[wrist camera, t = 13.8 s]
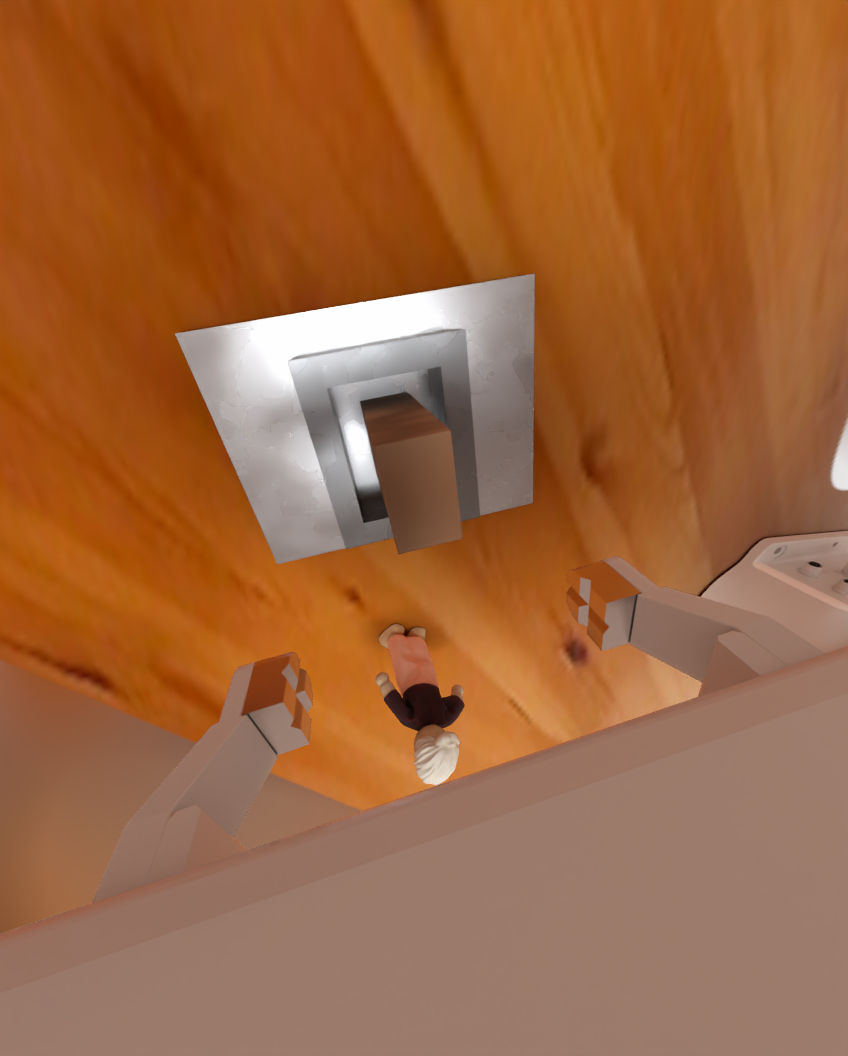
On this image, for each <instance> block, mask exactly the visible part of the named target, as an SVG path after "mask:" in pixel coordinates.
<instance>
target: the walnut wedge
mask: <svg viewBox="0 0 848 1056" xmlns="http://www.w3.org/2000/svg"><path fill="white" fill-rule="evenodd" d="M360 404H361V409H362V413H363V417H364V422H365V426H366V430H367V435H368V439H369V443H370V448H371V452H372V456H373V460H374V465H375V469H376V473H377V477H378V481H379V485H380V488H381V492H382V496H383V499H384V503H385V506H386V510H387V514H388V517H389V521H390V525H391V528H392V532H393V535H394V539H395V543H396V546H397V550H398V554H402V553H406V552H410V551H414V550H418V549H422V548H426V547H430V546H434V545H439V544H443V543H447V542H451V541H455V540H459V539H463V536H462V527H461V519H460V510H459V501H458V492H457V483H456V474H455V465H454V456H453V447H452V438H451V430H450V429H449V428H447V427H446V426H445V425H444V424H443V423H442V422H441V421H440V420H438V419H437V418H436V417H435V416H434V415H433V414H432V413H430V412H429V411H428V410H427V409H426V408H425V407H424V406H423V405H421V404H420V403H419V402H418V401H417V400H416V399H415V398H414V397H412V396H411V395H410V394H409V393H408V392H403V393H398V394H393V395H388V396H383V397H378V398H373V399H368V400H363V401H360Z"/></svg>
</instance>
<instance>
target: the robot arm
mask: <svg viewBox="0 0 848 1056" xmlns="http://www.w3.org/2000/svg"><path fill="white" fill-rule="evenodd" d="M567 582H568V583H569V584H570V585H571V587H570V588H569V590H568V591H567V604H568V607H569V610H570V612H571V614H572V615H573V617H574V618H575V619H576V621H577V622H578V623H580V624H582V625H585V626H587V627H588V628H587V634H588V635H589V636H590V638H591V639H592V640H593V641H594V642H595V644H596V645H597V646H598V647H599V648H600V650H601V651H603V650H607V649H610V648H614V647H617V646H621V645H624V644H628V643H630V645H632V646H634V647H636V648H638V649H639V650H641V651H643V652H645V653H647V654H649V655H651V656H653V657H655V658H657V659H659V660H660V661H662V662H664V663H666V664H668V665H670V666H672V667H674V668H676V669H678V670H680V671H682V672H683V673H685V674H687V675H689V676H691V677H693V678H695V679H697V680H699V681H701V682H702V685H701V688H700V691H699V694H698V697H697V698H694V699H691V700H688V701H685V702H682V703H679V704H676V705H673V706H670V707H667V708H664V709H661V710H658V711H655V712H652V713H649V714H647V715H644V716H641V717H638V718H635V719H632V720H629V721H626V722H623V723H620V724H617V725H614V726H611V727H608V728H605V729H602V730H599V731H597V732H594V733H591V734H588V735H585V736H582V737H579V738H576V739H573V740H570V741H567V742H564V743H561V744H558V745H555V746H552V747H549V748H547V749H544V750H541V751H538V752H535V753H532V754H529V755H526V756H523V757H520V758H517V759H514V760H511V761H508V762H505V763H502V764H500V765H497V766H494V767H491V768H488V769H485V770H482V771H479V772H476V773H473V774H470V775H467V776H464V777H461V778H459V779H456V780H453V781H450V782H447V783H444V784H441V785H438V786H435V787H432V788H429V789H426V790H423V791H420V792H417V793H415V794H412V795H409V796H406V797H403V798H400V799H397V800H394V801H391V802H388V803H385V804H382V805H379V806H376V807H373V808H370V809H367V810H365V811H362V812H359V813H356V814H353V815H350V816H347V817H344V818H341V819H338V820H335V821H332V822H329V823H326V824H323V825H321V826H317V827H315V828H312V829H309V830H306V831H303V832H300V833H297V834H294V835H291V836H288V837H285V838H282V839H279V840H277V841H273V842H270V843H267V844H264V845H262V846H259V847H256V848H253V849H250V850H246V849H245V848H244V847H243V846H242V845H241V844H240V843H239V842H238V841H237V840H235V839H234V838H233V837H234V836H235V833H236V832H237V830H238V828H239V827H240V825H241V823H242V821H243V819H244V817H245V816H246V814H247V812H248V810H249V808H250V807H251V805H252V803H253V801H254V799H255V798H256V796H257V794H258V792H259V790H260V789H261V786H262V785H263V783H264V781H265V780H266V778H267V776H268V774H269V772H270V770H271V769H272V767H273V765H274V763H275V761H276V760H277V758H278V756H277V755H279V754H282V753H285V752H288V751H291V750H294V749H297V748H299V747H302V746H305V745H308V744H310V733H311V718H310V717H309V715H308V713H307V712H308V711H309V709H310V708H311V706H312V703H313V692H312V684H311V681H310V678H309V676H308V674H307V672H306V671H305V670H303V669H301V668H300V659H299V657H298V656H297V654H296V653H295V652H291V653H287V654H283V655H279V656H276V657H272V658H268V659H265V660H261V661H257V662H255V663H251V664H247V665H244V666H240V667H238V668H237V669H236V670H235V672H234V674H233V677H232V681H231V684H230V687H229V690H228V694H227V697H226V700H225V703H224V707H223V710H222V713H221V716H220V720H219V723H217V724H214V725H212V726H211V727H210V729H209V730H208V731H207V732H206V733H205V734H204V735H203V737H202V738H201V739H200V740H199V741H198V742H197V744H196V745H195V746H194V747H193V748H192V749H191V750H190V752H189V753H188V754H187V755H186V756H185V757H184V759H183V760H182V761H181V762H180V763H179V764H178V765H177V767H176V768H175V769H174V770H173V771H172V772H171V774H170V775H169V776H168V777H167V778H166V779H165V780H164V782H163V783H162V784H161V785H160V786H159V787H158V789H157V790H156V791H155V792H154V793H153V794H152V795H151V797H150V798H149V799H148V800H147V801H146V802H145V804H144V805H143V806H142V807H141V808H140V809H139V810H138V812H137V813H136V814H135V815H134V816H133V817H132V819H131V820H130V821H129V822H128V823H127V824H126V826H125V827H124V830H123V832H122V835H121V837H120V839H119V841H118V844H117V846H116V848H115V851H114V853H113V855H112V858H111V860H110V862H109V865H108V867H107V869H106V871H105V874H104V876H103V878H102V881H101V883H100V885H99V887H98V890H97V892H96V894H95V897H94V899H93V901H92V903H91V904H88V905H85V906H82V907H79V908H76V909H73V910H70V911H67V912H64V913H61V914H58V915H55V916H52V917H49V918H47V919H44V920H40V921H38V922H34V923H32V924H29V925H26V926H23V927H20V928H17V929H14V930H11V931H8V932H5V933H2V934H0V1056H848V531H839V532H828V533H817V534H806V535H794V536H783V537H772V538H766V539H763V540H761V541H760V542H759V543H757V544H756V545H755V546H754V547H753V548H752V549H751V550H750V551H749V552H748V554H747V555H746V556H745V557H744V558H743V559H742V560H741V561H740V562H739V563H738V564H737V565H736V566H734V567H733V568H732V569H730V570H729V571H728V572H726V573H725V574H724V575H722V576H721V577H720V578H719V579H717V580H716V581H715V582H714V583H713V584H712V585H711V586H710V587H709V588H708V589H707V590H706V591H705V592H704V593H703V595H702V596H701V597H699V596H696V595H692V594H689V593H685V592H682V591H679V590H675V589H672V588H668V587H662V588H659V587H658V586H657V585H656V584H654V583H653V582H652V581H651V580H649V579H648V578H647V577H645V576H644V575H643V574H642V573H640V572H639V571H638V570H637V569H635V568H634V567H633V566H631V565H630V564H629V563H628V562H626V561H625V560H624V559H622V558H621V557H618V556H614V557H611V558H608V559H605V560H602V561H600V562H595V563H592V564H589V565H586V566H582V567H579V568H576V569H572V570H569V572H568V574H567Z"/></svg>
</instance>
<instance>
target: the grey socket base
mask: <svg viewBox="0 0 848 1056" xmlns="http://www.w3.org/2000/svg"><path fill="white" fill-rule="evenodd" d="M534 294H535V274H529V275H523V276H517V277H511V278H505V279H499V280H493V281H487V282H482V283H476V284H470V285H464V286H458V287H452V288H446V289H440V290H434V291H428V292H422V293H416V294H410V295H404V296H398V297H392V298H386V299H380V300H374V301H368V302H362V303H356V304H350V305H344V306H338V307H332V308H326V309H320V310H314V311H308V312H302V313H296V314H290V315H284V316H278V317H272V318H266V319H260V320H254V321H248V322H242V323H236V324H230V325H224V326H218V327H212V328H206V329H200V330H194V331H188V332H182V333H176V334H175V335H176V337H177V339H178V342H179V344H180V346H181V348H182V351H183V353H184V355H185V357H186V360H187V362H188V364H189V366H190V369H191V371H192V373H193V375H194V378H195V380H196V382H197V384H198V387H199V389H200V391H201V393H202V396H203V398H204V400H205V402H206V405H207V407H208V409H209V411H210V414H211V416H212V418H213V420H214V423H215V425H216V427H217V429H218V432H219V434H220V436H221V438H222V441H223V443H224V445H225V447H226V450H227V452H228V454H229V456H230V459H231V461H232V463H233V465H234V468H235V470H236V472H237V474H238V477H239V479H240V481H241V483H242V486H243V488H244V490H245V492H246V495H247V497H248V499H249V501H250V504H251V506H252V508H253V510H254V513H255V515H256V517H257V519H258V522H259V524H260V526H261V528H262V531H263V533H264V535H265V537H266V540H267V542H268V544H269V546H270V549H271V551H272V553H273V555H274V558H275V560H276V562H277V564H281V563H285V562H289V561H293V560H297V559H301V558H306V557H310V556H314V555H318V554H322V553H326V552H331V551H335V550H339V549H343V548H346V549H348V548H352V547H356V546H361V545H365V544H369V543H373V542H377V541H381V540H386V539H390V538H394V535H393V532H392V528H391V525H390V521H389V517H388V514H387V510H386V506H385V503H384V499H383V496H382V492H381V488H380V485H379V481H378V477H377V473H376V469H375V465H374V460H373V456H372V452H371V448H370V443H369V439H368V435H367V430H366V426H365V422H364V417H363V413H362V409H361V404H360V401H363V400H368V399H373V398H378V397H383V396H388V395H393V394H398V393H403V392H408V393H409V394H410V395H411V396H412V397H414V398H415V399H416V400H417V401H418V402H419V403H420V404H421V405H423V406H424V407H425V408H426V409H427V410H428V411H429V412H430V413H432V414H433V415H434V416H435V417H436V418H437V419H438V420H440V421H441V422H442V423H443V424H444V425H445V426H446V427H447V428H449V429H450V430H451V438H452V447H453V456H454V465H455V474H456V483H457V492H458V501H459V510H460V519H461V521H465V520H469V519H473V518H477V517H480V516H481V515H485V514H489V513H493V512H497V511H501V510H506V509H510V508H514V507H518V506H522V505H526V504H531V503H533V431H534Z"/></svg>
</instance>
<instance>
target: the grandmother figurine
mask: <svg viewBox="0 0 848 1056" xmlns="http://www.w3.org/2000/svg"><path fill="white" fill-rule="evenodd" d="M404 631H405V629H404V627H403V626H402V625H399V624H393V625H391V626H390V627H389V628H387V629H386V630H385V631H384V632H383V633H382V634H381V635H380V637H379V642H380V644H381V645H382V646H383V647H385V648H389V651H390V655H391V658H392V662H393V667H394V671H395V676H396V680H397V684H398V686H399V689H400V691H401V694H402V696H403V698H402V697H401V695H400V694H399V692H398V691H397V690H396V689H395V688H394V686H393V684H392V683H391V682H390V681H389V677H388V675H387V674H386V673H384V672H382V673H379V674H378V675H377V677H376V683H377V685H378V686H380V691H381V693H382V695H383V697H384V701H385V703H386V704H387V705H388V707H389V708H390V709H391V711H392V712H393V713H394V714H395V716H396V717H397V718H398V720H399V721H400V722H401V723H402V724H403V725H404V726H406V727H409V728H411V729H414V730H417V731H419V732H418V733H417V735H416V737H415V741H414V750H415V753H414V756H415V758H416V759H415V762H414V764H415V766H416V768H417V770H416V771H417V774H418V776H419V777H420V778H421V779H422V781H423V782H424V783H427V784H434V785H438V784H440V783H442V782H444V781H445V780H446V779H447V778H448V777H449V776H450V775H451V773H452V772H453V771H454V769H455V766H456V763H457V758H458V755H459V747H458V746H459V744H460V741H459V740H458V737H457V735H456V734H455V733H454V732H448V731H446V732H445V731H444V730H443V729H442V728H445V727H447V726H449V725H451V724H452V723H453V722H454V721H455V720H456V719H457V718H458V716H459V715H460V713H461V711H462V710H463V708H464V703H463V696H462V695H463V688H462V687H461V686H460V685H454V686H453V687H452V694H451V696H448V697H444V698H441V695H440V692H439V688H438V684H437V678H436V674H435V670H434V665H433V662H432V659H431V657H430V654H429V651H428V649H427V645H426V643H425V641H424V639H425V634H426V630H425V629H424V628H422V627H415V628H413V629H411V630H410V632H409V633H408V635H407V637H405V636H403V634H404Z"/></svg>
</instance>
